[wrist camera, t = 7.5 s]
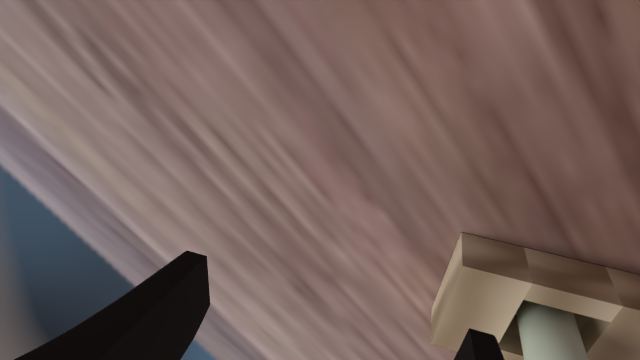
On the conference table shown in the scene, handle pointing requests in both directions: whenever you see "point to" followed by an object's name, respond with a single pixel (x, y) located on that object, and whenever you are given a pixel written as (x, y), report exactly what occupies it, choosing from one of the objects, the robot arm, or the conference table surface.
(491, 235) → the conference table surface
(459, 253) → the hole plate
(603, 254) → the conference table surface
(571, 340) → the long pin
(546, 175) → the conference table surface
